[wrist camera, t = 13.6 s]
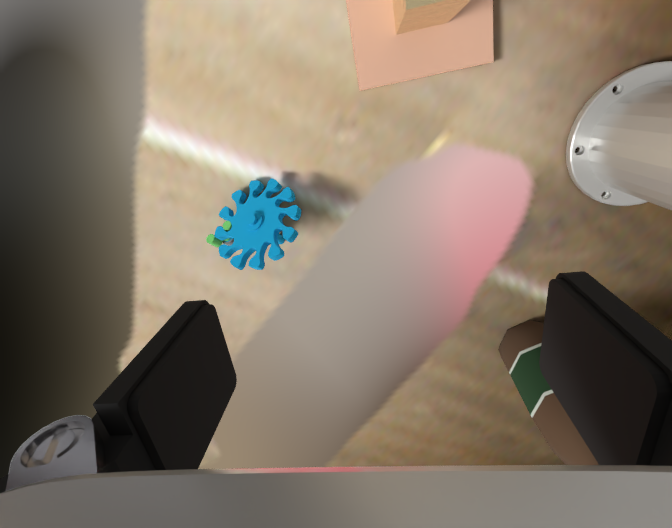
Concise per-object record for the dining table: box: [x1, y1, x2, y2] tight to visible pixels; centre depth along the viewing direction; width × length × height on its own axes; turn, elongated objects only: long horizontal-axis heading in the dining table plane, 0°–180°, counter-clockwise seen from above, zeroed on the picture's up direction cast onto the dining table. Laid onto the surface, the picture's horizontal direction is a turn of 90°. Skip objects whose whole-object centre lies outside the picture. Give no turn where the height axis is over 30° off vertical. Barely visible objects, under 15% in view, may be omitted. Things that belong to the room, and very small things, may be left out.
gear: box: [206, 178, 301, 270], centre depth 39 cm, size 11×6×10 cm
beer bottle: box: [498, 320, 599, 465], centre depth 34 cm, size 8×8×24 cm
